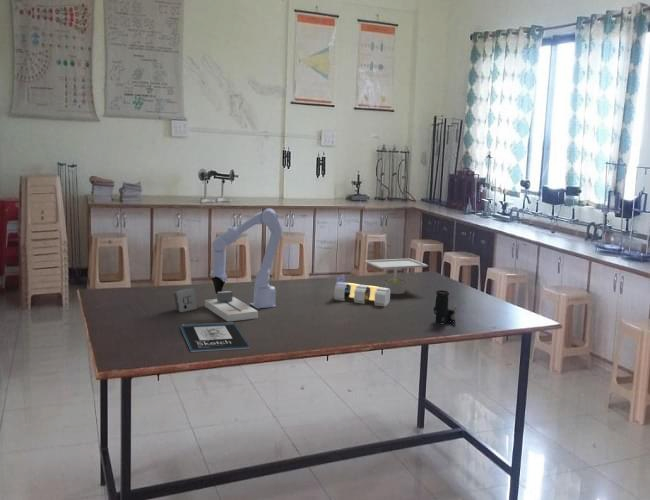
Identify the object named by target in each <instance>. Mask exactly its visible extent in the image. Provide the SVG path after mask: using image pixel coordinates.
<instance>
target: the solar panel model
mask: <svg viewBox="0 0 650 500" xmlns="http://www.w3.org/2000/svg"><path fill="white" fill-rule="evenodd" d="M363 262H364V263H366V264H368V265H371V267H372V266H373V267H375V268H378V269H380V270H390V269H391V270H392V269H393V278H387V279H385V280H384V288H389V289H390V290H391V292H390V295H391V294H393V295H400V294H401V295H402V294H404V293H405V292H406V281H405V280H404V279H400V278H399V279H398V278H397V273H398V269H411V268H426V267H427V268H428V267H429V265H428V264H426V263H423V262H421V261H419V260H415V259H413V258H408V257H407V258H393V259H392V258H389V259H387V258H386V259H366V260H363Z"/></svg>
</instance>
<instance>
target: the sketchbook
mask: <svg viewBox="0 0 650 500" xmlns="http://www.w3.org/2000/svg"><path fill="white" fill-rule="evenodd" d="M180 330H181V332H182V334H183V337H184V339H185V341H186V344H187V346H188V348H189V350H190V352H191V353H199V352H201V353H202V352H214V351H216V352H217V351H231V350H232V351H233V350H246V349H250V348H251V346H250V344H249V343H248V341H247V340H246V339H245V337H244V336H243V334H242V333H241V331H240V330H239V328H238V327H237V325H236V324H235V323H234V322H233V321H229V322H227V321H226V322H223V323H219V322H217V323H216V322H215V323H214V322H211V323H210V322H209V323H193V324H186V323H185V324H184V323H182V325H180Z"/></svg>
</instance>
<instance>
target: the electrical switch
mask: <svg viewBox="0 0 650 500" xmlns="http://www.w3.org/2000/svg"><path fill="white" fill-rule="evenodd" d="M173 296H174V303H175V309H176V311H177V312H180V313H185V312H189V311H193V310H197V309H198V304H197V298H196V297H197V296H196V291H195V288H194V287H191V288H186V289H181V290H177V291H176V292H174V293H173Z"/></svg>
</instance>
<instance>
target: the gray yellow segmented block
mask: <svg viewBox="0 0 650 500" xmlns="http://www.w3.org/2000/svg"><path fill="white" fill-rule="evenodd" d="M345 280H346V275H345V274H344V273H343V274H340V275H339V276H338V277H337V276H336V283H335V285H334V286H335V287H334V292H333V293H334V294H333V298H334V300H336V301H341V302H342V301H343V302H345V298H352V299H353V301H354V303H355V304H356V303H357V304H363V305H364V304H365V300H366V301H367V300H368V301H374V306H378V307H386V306H387V305H389V303H390V300H391V293H390V292H391V290H390V289H389V288H385V286H384V287H381V286H375V285H367V284H359V283H352V282H346V281H345Z"/></svg>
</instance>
